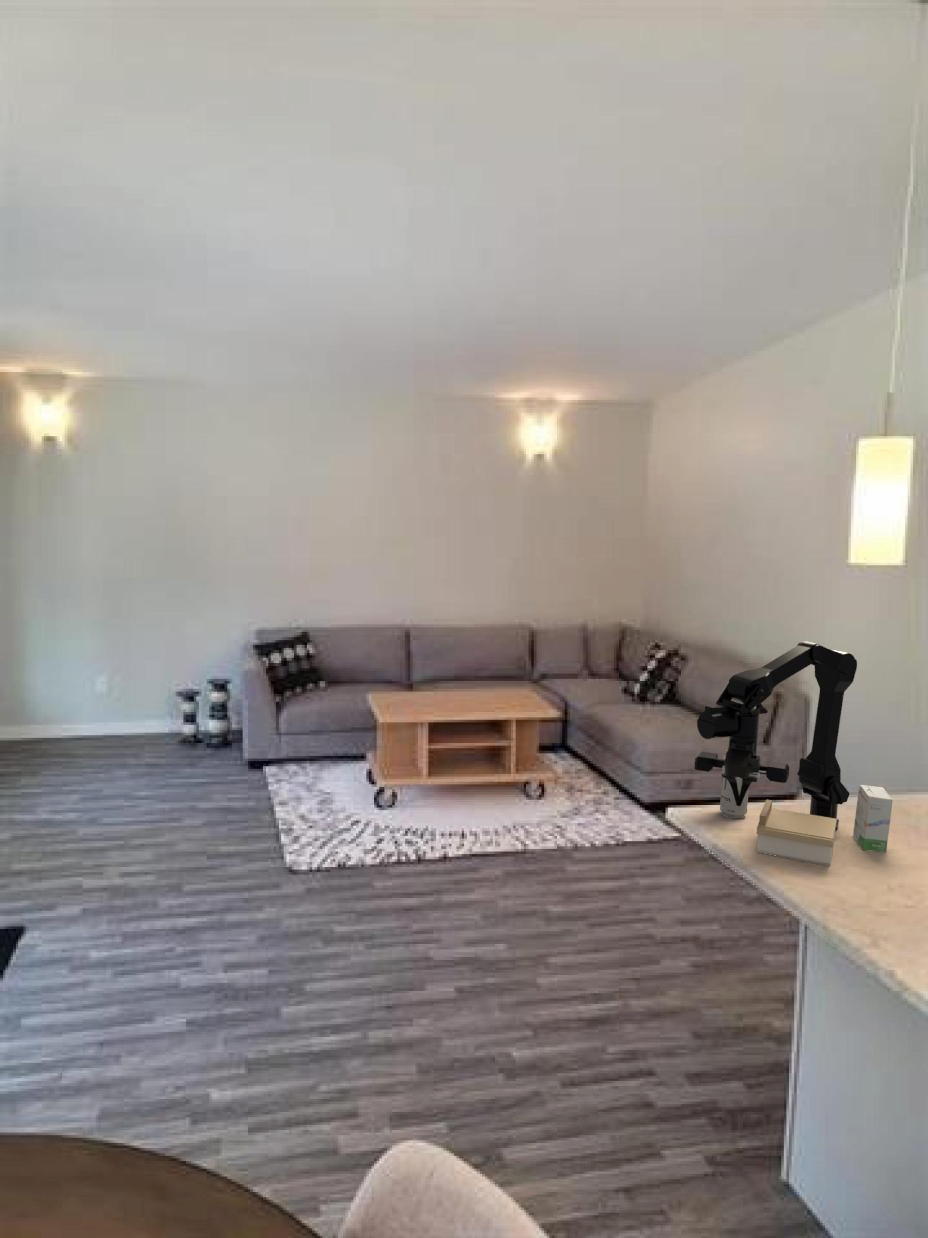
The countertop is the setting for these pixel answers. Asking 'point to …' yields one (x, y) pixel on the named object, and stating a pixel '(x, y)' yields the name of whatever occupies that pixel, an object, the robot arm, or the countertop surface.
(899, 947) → the countertop surface
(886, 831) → the ink box
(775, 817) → the lid
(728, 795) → the energy drink can
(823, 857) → the mailer box
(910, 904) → the countertop surface
